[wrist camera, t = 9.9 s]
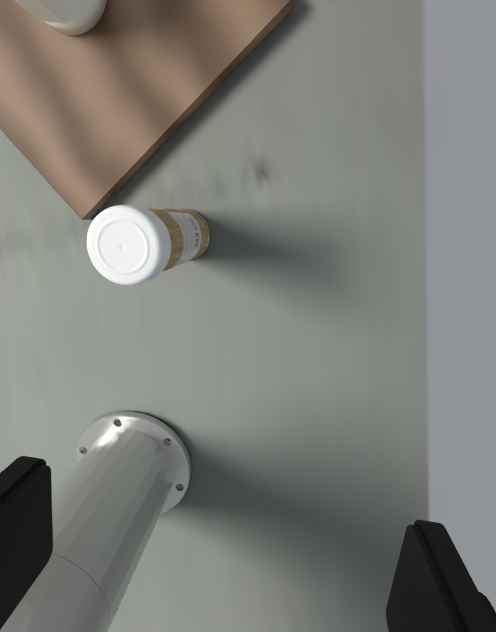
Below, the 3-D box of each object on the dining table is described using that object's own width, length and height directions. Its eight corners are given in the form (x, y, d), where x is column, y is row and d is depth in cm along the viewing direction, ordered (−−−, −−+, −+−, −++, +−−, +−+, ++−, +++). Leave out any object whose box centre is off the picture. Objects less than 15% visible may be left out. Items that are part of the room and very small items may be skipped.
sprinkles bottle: (164, 205, 34) (84, 198, 21) (214, 212, 33) (164, 210, 20) (161, 256, 35) (82, 280, 22) (208, 264, 34) (158, 292, 21)
